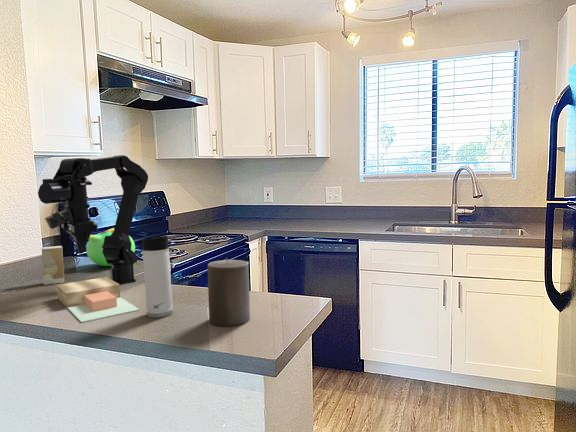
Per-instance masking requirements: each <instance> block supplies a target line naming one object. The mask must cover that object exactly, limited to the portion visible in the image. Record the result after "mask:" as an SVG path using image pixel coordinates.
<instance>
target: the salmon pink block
mask: <svg viewBox="0 0 576 432" xmlns="http://www.w3.org/2000/svg"><path fill="white" fill-rule="evenodd" d="M84 300H85V305H87V306H88V307H89V308H90V309H91V310H92V311H98V310H103V309H108V308H113V307H117V298H116V297H115V296H114V295H112V294H110V293H109V292H107V291H104V292H99V293H93V294H88V295H84Z"/></svg>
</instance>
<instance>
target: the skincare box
mask: <svg viewBox="0 0 576 432" xmlns="http://www.w3.org/2000/svg"><path fill="white" fill-rule="evenodd" d="M63 256H64V255H63V246H62V245H56V246H52V245H51V246H43V247H41V261H42V262H41V264H42V265H41V266H42V277H43V278H42V279H43V280H42V281H43V285H44V286H47V285H48V286H49V285H55V284H65V274H64V273H65V272H64V257H63Z"/></svg>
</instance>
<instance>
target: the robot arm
mask: <svg viewBox="0 0 576 432" xmlns="http://www.w3.org/2000/svg"><path fill="white" fill-rule="evenodd" d="M112 169H114V170H115V173H116V176H118V178H119V179H121V180H120V186H121V189H122V191H123V192H122V196H121V200H120V205H119V207H118V213H117V216H116V220H115V224H114V227H113V228H114V231H113V233H112V234H111V235H110V236H105V238H104V244H103V246H102V248H103V254H104V257H105V259H106V262H107V264H111V266H110V267H111V268H109V276H110V278H109V279H111V280H113V281H115V282H116V283H118V284H119V285H120V284H128V283H133V282H137V279H135V273H134V265H135V263H137V262H138V255H137V254H136V253H135V251H134V252H133V251H132V250H131V245H132V244H131V240H130V237H131V236H130V232H131V228H132V222H133V219H134V216H135V211H136V207H137V203H138V199H139V195H140V194H141V193H142V192H143V191H144V190H145V189H146V186H147V183H148V180H149V175H148V173H147V171H146V170H145V169H144V168H143V167H142V166H141V165H139V164H138V163H136V162H134V161H133V160H131V159H130V158H129V157H128V156H127V155H125V154H122V155H121V154H120V155H113V156H110V157H109V156H108V157H100V158H94V159H93V158H84V157H75V158H64V159H62V160H61V161H60V163H59V167H58V168H57V171H56V173H55V174H54V176H53V178H43V179H42V183H41V184H40V185H39V188H38V191H37V195H38V198H39V199H38V200H39V201H40V202H41V203H43V204H46V205H48V204H49V205H50V204H59V203H60V204H61V203H65V204H64V206H63V210H62V211H55V212H54V213H51V215H49V216H46V217H45V218H44V219H45V222H46V224H47V226H48V227H49V229H51V230H53V229H56V228H58V227H59V226H61V229H66V228H68V229H67V230H65V232H66V233H68V234H70V235H71V236H72V238H73V241H74V244H75V247H76V249H77V251H78V254H80V255H81V254H84V252H85V251H86V250H85V249H86V248H87V244H88V242H89V237H90V235H92V232H97V231H99V227H98V223H97V222H96V221H94V220H92V219H91V217H89V208H90V206H91V205H90V204H89V203H88V191H87V186H92V185H93V183H92V181H90V180H89V179H88V178H87V177H89V176H91V175H92V174H93V173H95V172H101V171H105V170H112ZM129 236H130V237H129Z"/></svg>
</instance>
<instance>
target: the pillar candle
mask: <svg viewBox="0 0 576 432" xmlns="http://www.w3.org/2000/svg"><path fill="white" fill-rule="evenodd" d="M249 277H250V273H249V261H245V260H241V259H240V260H239V259H228V257H226V259H223V260H215V261H211V262H209V263H208V264H207V294H208V316H209V323H210V324H211V325H213V326H218V327H224V328H225V327H236V326H239V325H243V324H246V323H248V322H249V321H250V320H251V306H250V302H251V301H250V278H249Z"/></svg>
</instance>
